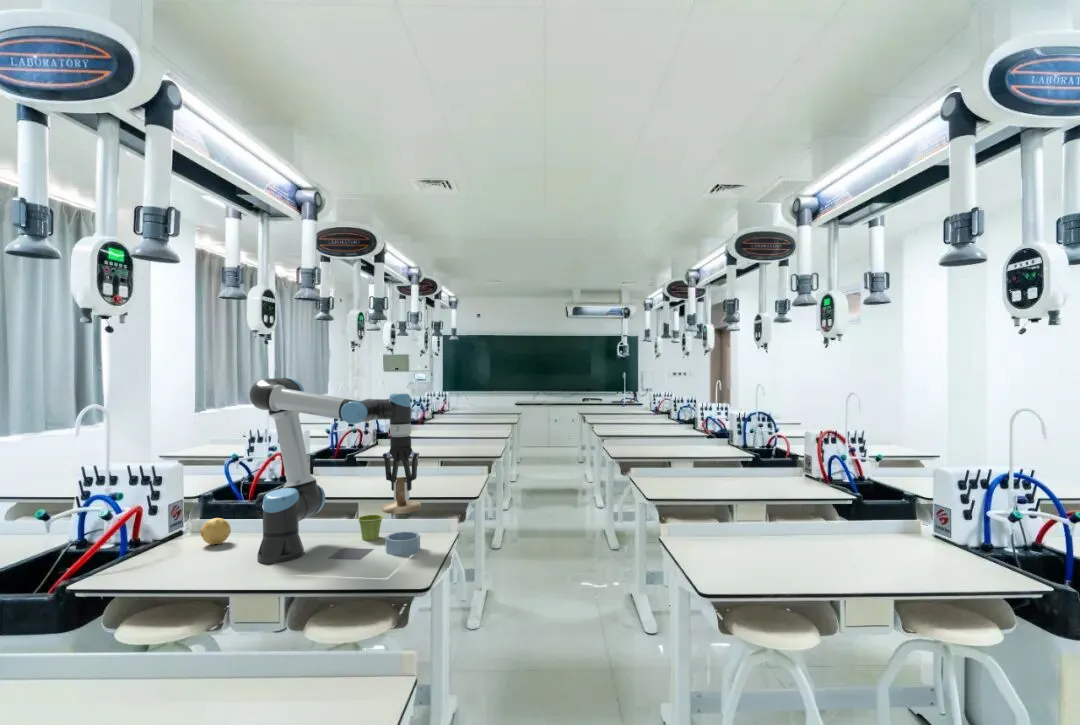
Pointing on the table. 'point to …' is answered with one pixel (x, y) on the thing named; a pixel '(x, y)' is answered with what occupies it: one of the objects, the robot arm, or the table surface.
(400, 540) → the bowl
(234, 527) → the table surface
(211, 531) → the potato
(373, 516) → the plant pot
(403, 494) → the lid
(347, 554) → the mat
